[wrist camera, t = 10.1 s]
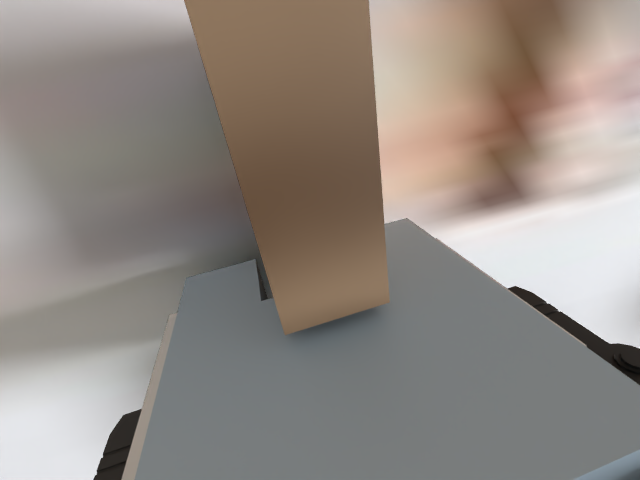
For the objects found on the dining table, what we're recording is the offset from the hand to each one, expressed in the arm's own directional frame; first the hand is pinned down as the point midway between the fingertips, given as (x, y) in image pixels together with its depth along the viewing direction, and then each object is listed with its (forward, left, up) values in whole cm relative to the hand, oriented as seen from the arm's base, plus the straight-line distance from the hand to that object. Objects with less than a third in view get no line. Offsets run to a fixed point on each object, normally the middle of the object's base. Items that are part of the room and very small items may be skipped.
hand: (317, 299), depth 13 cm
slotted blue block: (0, 0, -1) cm, 1 cm away
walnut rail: (0, 0, -3) cm, 3 cm away
